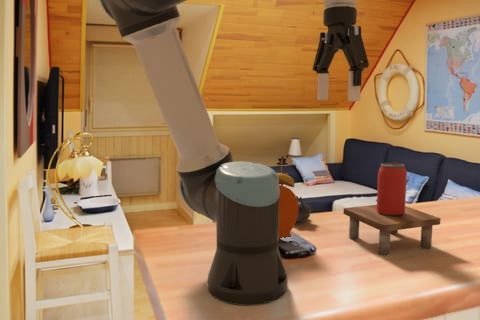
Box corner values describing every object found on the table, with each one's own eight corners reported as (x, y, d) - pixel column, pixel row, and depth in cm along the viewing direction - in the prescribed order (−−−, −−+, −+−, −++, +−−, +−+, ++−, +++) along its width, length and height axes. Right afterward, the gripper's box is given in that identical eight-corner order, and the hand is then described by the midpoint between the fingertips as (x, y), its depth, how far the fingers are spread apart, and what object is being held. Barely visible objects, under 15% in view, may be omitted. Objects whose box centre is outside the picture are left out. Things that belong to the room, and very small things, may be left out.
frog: (294, 229, 125) (295, 201, 124) (267, 219, 135) (267, 193, 133) (320, 223, 131) (321, 196, 129) (292, 213, 140) (292, 189, 139)
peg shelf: (382, 257, 103) (383, 225, 102) (342, 236, 118) (343, 208, 117) (438, 248, 109) (440, 218, 108) (394, 229, 124) (395, 202, 123)
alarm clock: (283, 233, 121) (284, 158, 118) (298, 240, 116) (300, 161, 113) (241, 243, 113) (240, 163, 110) (255, 250, 108) (255, 166, 105)
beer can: (406, 217, 108) (409, 167, 107) (377, 216, 110) (380, 166, 108) (402, 210, 115) (405, 162, 113) (375, 209, 116) (377, 162, 114)
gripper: (388, -1, 96) (383, 101, 99) (326, 16, 119) (324, 99, 123) (357, -4, 94) (354, 101, 97) (300, 15, 117) (298, 99, 120)
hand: (337, 100), depth 110 cm, fingers open, 13 cm apart
